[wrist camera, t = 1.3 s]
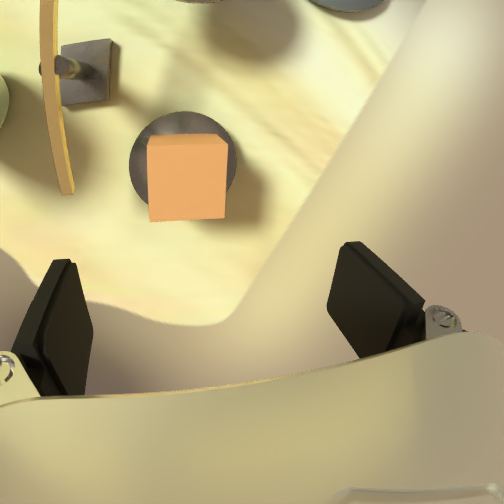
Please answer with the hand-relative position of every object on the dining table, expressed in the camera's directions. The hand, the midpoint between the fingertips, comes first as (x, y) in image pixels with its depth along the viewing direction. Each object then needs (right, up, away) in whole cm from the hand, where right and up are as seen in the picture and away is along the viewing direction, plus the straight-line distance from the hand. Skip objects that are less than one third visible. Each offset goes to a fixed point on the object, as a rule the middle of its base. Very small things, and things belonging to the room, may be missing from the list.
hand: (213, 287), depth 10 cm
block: (-4, +8, +13) cm, 16 cm away
